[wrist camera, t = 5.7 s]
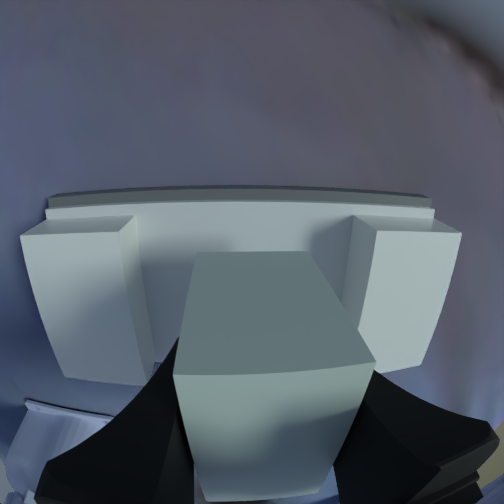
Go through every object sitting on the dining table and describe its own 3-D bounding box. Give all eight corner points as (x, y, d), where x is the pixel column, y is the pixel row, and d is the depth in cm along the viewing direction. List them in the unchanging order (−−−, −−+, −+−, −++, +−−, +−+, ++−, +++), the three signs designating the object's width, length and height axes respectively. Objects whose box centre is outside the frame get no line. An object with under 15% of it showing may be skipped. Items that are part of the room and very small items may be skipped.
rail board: (90, 348, 17) (70, 389, 13) (57, 193, 13) (15, 213, 10) (389, 340, 19) (415, 377, 15) (422, 194, 15) (465, 212, 12)
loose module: (207, 388, 13) (205, 501, 8) (196, 252, 11) (172, 374, 5) (290, 385, 14) (317, 492, 8) (307, 250, 11) (376, 361, 6)
